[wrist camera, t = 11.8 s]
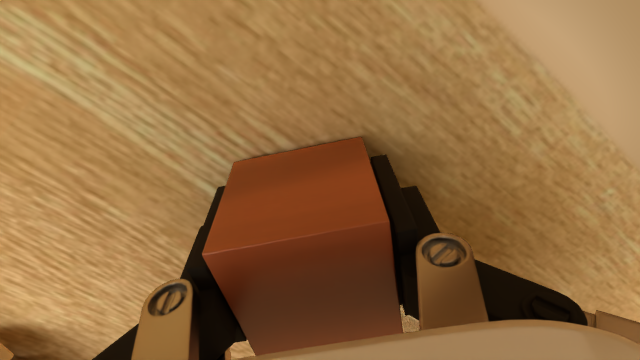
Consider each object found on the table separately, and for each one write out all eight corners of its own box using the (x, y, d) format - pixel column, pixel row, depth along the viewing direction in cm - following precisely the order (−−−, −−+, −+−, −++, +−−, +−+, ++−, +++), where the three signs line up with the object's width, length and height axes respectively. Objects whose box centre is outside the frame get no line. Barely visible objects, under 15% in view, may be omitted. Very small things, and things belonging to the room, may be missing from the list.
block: (233, 161, 12) (200, 254, 8) (361, 136, 11) (389, 220, 8) (269, 253, 14) (256, 358, 10) (376, 234, 14) (403, 336, 10)
